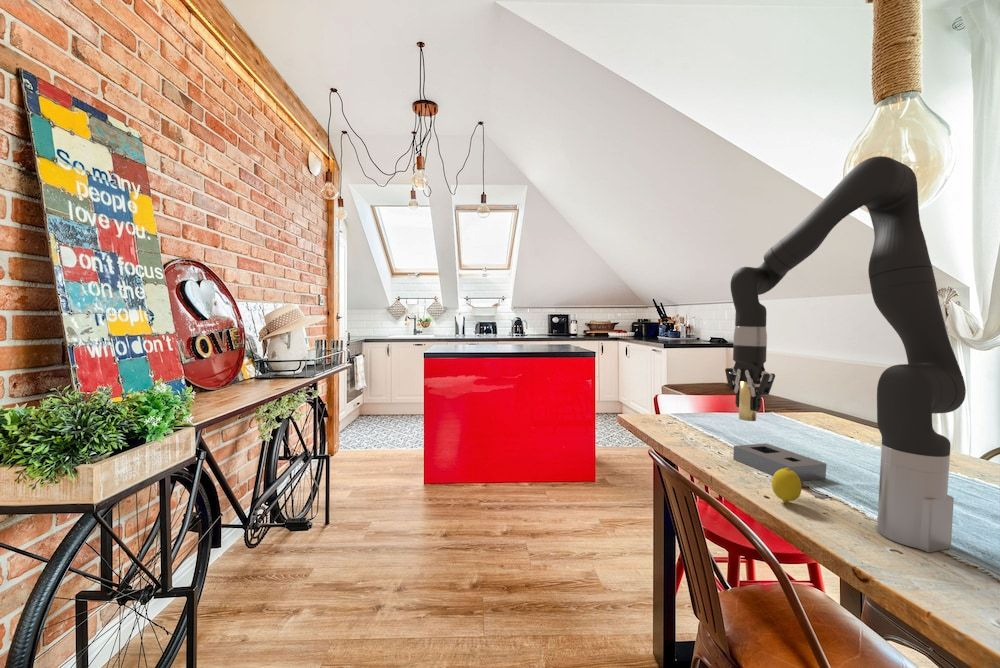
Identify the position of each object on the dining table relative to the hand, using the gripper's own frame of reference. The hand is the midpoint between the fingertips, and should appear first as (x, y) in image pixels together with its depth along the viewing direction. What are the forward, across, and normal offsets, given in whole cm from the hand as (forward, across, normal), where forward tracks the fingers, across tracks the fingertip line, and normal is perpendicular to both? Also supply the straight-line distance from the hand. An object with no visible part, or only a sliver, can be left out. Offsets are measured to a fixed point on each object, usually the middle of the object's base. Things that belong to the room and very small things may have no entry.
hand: (747, 408), depth 111 cm
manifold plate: (+18, +2, -13) cm, 22 cm away
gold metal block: (+3, 0, 0) cm, 3 cm away
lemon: (+18, -16, +5) cm, 24 cm away
